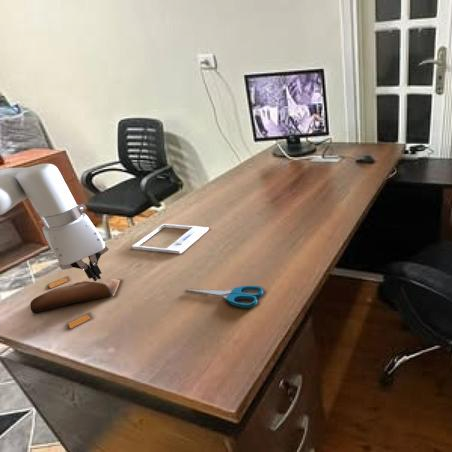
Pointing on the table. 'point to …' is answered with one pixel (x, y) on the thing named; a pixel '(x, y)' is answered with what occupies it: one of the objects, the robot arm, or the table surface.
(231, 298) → the scissors
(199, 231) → the photo frame
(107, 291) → the sunglasses case
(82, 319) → the tape marks
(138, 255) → the table surface
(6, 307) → the table surface
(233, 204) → the table surface
